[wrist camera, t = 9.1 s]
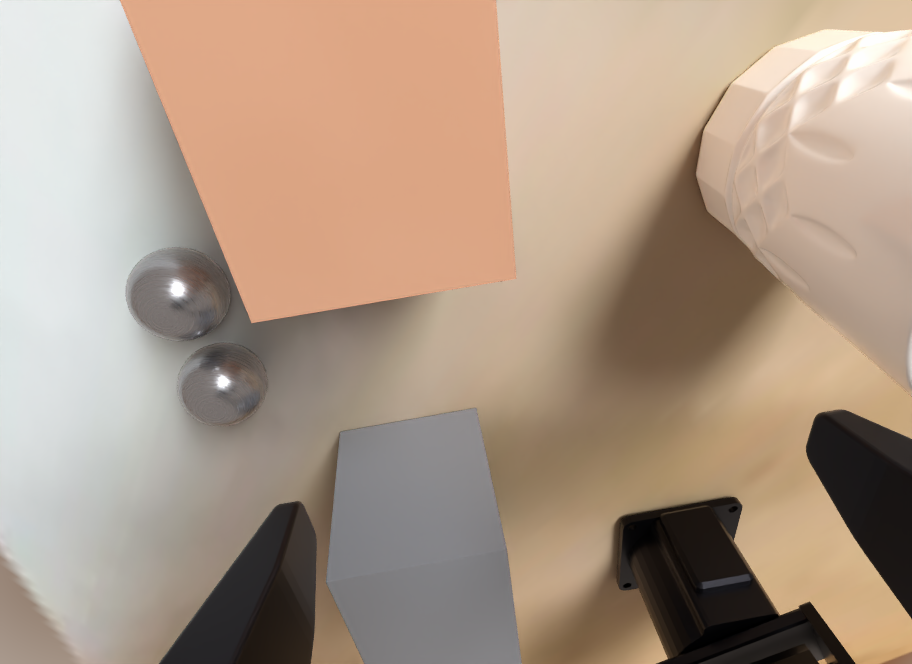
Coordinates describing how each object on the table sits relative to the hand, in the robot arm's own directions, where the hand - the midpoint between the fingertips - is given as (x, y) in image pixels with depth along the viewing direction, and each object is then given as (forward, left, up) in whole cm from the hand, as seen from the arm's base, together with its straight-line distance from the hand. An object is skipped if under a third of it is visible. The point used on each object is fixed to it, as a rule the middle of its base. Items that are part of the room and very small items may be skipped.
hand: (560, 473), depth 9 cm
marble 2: (-4, +10, -11) cm, 15 cm away
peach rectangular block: (+6, +3, -11) cm, 13 cm away
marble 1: (0, +10, -11) cm, 15 cm away
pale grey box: (-13, +4, -11) cm, 18 cm away
